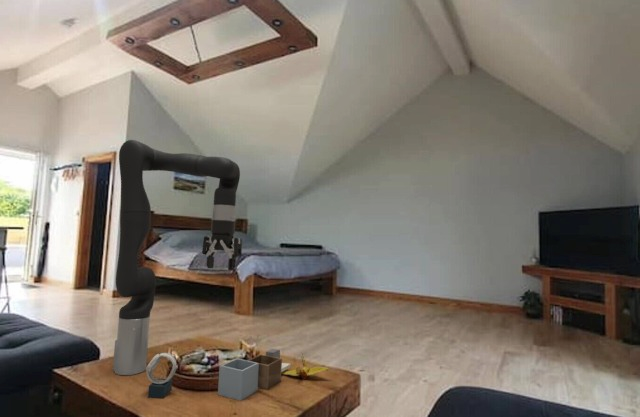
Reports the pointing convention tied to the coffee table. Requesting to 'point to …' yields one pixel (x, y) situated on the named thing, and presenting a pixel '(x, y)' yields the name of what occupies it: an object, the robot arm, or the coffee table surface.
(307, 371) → the origami crane
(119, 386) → the coffee table surface
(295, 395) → the coffee table surface
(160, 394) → the watch
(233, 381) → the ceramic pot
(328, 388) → the coffee table surface
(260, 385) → the walnut box
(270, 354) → the lid
